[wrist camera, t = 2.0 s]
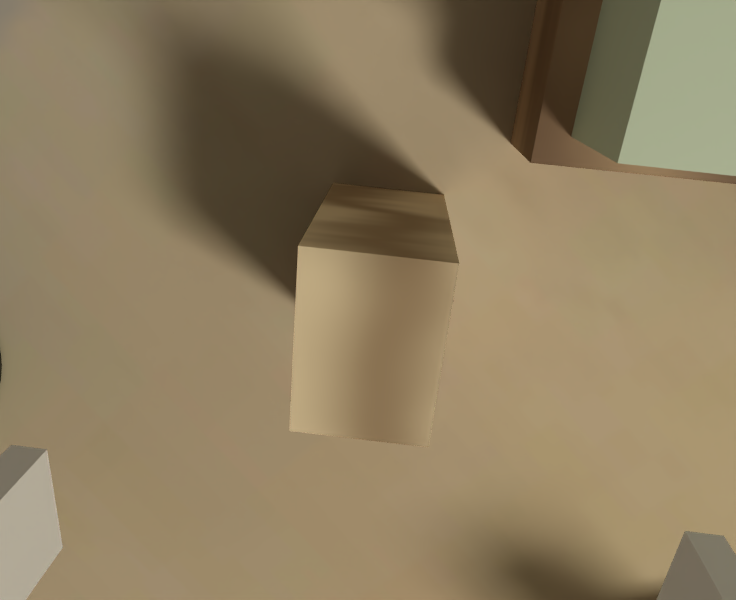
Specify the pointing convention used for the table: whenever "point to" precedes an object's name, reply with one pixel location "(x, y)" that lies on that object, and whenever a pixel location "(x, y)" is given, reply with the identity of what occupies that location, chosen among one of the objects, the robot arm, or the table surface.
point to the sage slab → (662, 85)
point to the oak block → (372, 315)
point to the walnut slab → (566, 92)
